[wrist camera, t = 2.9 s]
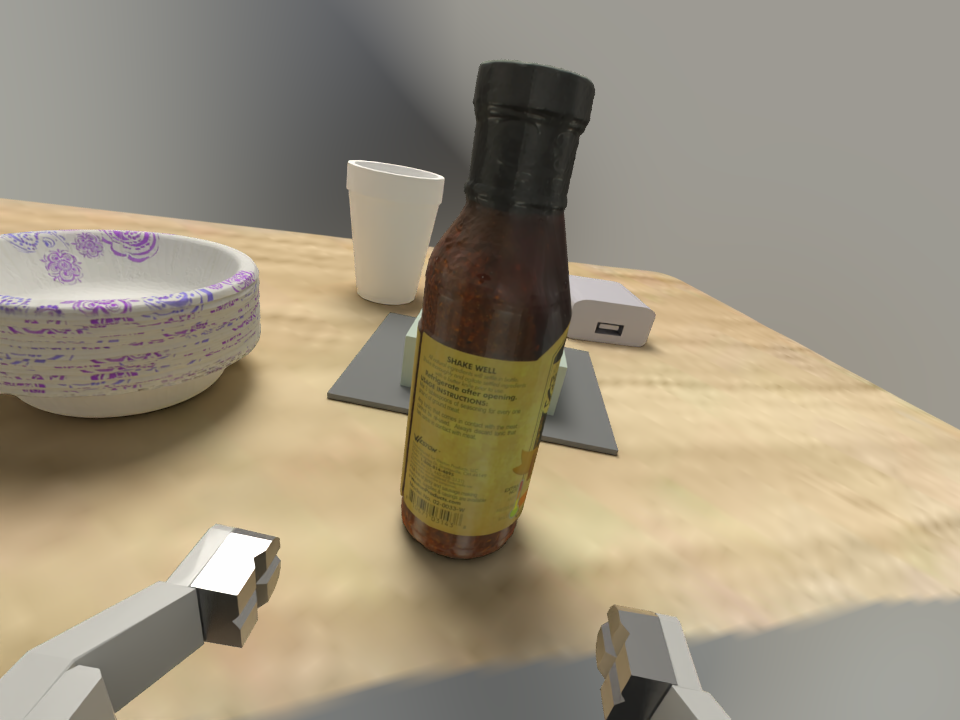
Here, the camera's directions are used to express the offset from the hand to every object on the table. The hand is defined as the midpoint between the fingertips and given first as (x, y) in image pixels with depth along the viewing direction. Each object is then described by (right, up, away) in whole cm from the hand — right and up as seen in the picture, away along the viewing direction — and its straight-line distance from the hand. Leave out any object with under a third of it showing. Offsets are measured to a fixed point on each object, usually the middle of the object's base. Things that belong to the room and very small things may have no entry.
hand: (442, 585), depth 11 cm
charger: (+14, +10, +45) cm, 48 cm away
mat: (+1, +4, +27) cm, 27 cm away
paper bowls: (-21, +4, +18) cm, 28 cm away
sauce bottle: (0, -3, +13) cm, 13 cm away
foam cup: (-10, +13, +40) cm, 43 cm away
